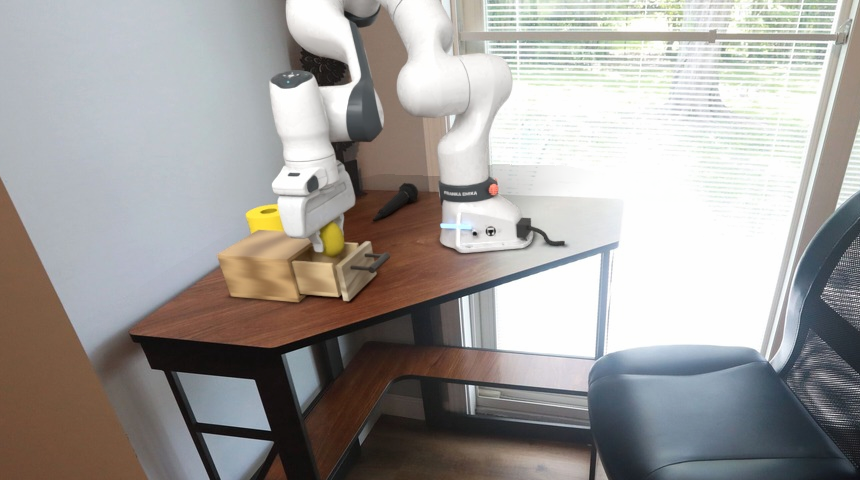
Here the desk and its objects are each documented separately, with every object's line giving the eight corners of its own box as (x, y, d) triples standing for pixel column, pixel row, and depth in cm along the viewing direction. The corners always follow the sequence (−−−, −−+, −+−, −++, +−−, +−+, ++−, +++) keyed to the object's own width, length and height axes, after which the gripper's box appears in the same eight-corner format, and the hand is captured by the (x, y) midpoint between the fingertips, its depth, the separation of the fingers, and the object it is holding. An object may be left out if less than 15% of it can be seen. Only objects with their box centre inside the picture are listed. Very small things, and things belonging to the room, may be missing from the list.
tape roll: (285, 259, 130) (274, 219, 125) (248, 256, 133) (235, 217, 127) (309, 243, 138) (299, 205, 133) (274, 240, 141) (263, 203, 135)
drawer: (399, 276, 118) (394, 242, 114) (373, 303, 108) (366, 268, 104) (315, 269, 122) (307, 237, 118) (282, 295, 112) (272, 261, 108)
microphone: (382, 233, 150) (420, 201, 164) (383, 214, 146) (422, 183, 160) (364, 225, 151) (404, 194, 165) (365, 206, 147) (405, 176, 161)
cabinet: (333, 273, 123) (323, 233, 118) (298, 302, 112) (286, 259, 107) (270, 268, 126) (258, 229, 121) (230, 296, 115) (216, 254, 110)
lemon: (352, 253, 114) (344, 215, 110) (340, 265, 110) (331, 225, 105) (327, 252, 115) (318, 214, 111) (314, 263, 111) (304, 224, 106)
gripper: (326, 157, 112) (341, 224, 120) (265, 187, 96) (286, 263, 103) (355, 157, 111) (368, 226, 118) (298, 189, 94) (317, 266, 102)
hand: (329, 243), depth 111 cm, fingers closed on lemon, 5 cm apart
